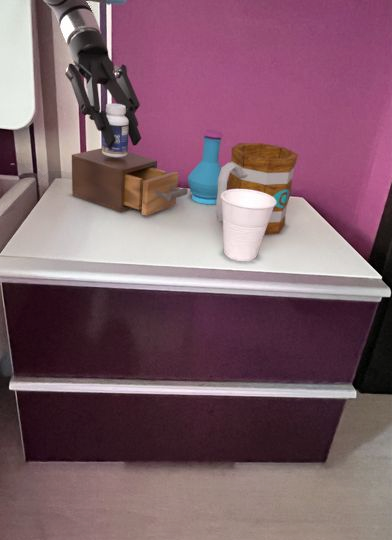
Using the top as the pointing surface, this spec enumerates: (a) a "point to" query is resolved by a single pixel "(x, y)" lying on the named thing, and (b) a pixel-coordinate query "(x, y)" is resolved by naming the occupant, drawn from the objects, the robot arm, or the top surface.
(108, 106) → the pill bottle
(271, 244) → the top surface
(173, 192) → the drawer
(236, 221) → the cup
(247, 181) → the mug
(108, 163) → the cabinet
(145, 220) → the top surface
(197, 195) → the perfume bottle
